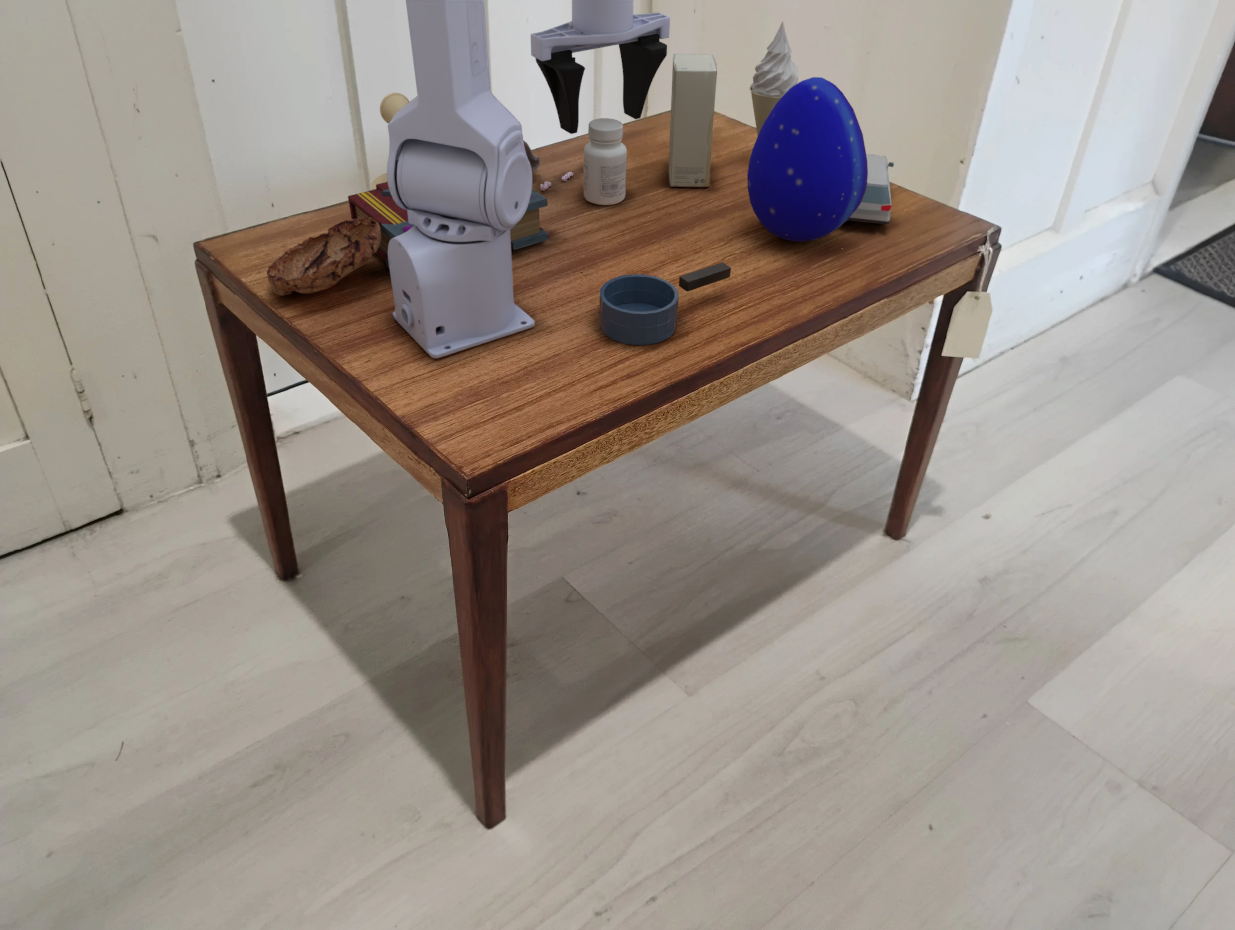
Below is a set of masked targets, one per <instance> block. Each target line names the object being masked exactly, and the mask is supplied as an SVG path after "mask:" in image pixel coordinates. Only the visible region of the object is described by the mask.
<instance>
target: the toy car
mask: <svg viewBox="0 0 1235 930" xmlns="http://www.w3.org/2000/svg"><path fill="white" fill-rule="evenodd" d="M866 156H867V166H868V179H867V187H866V191H865V194H864V196H863V199H862V201H861V204H860V205H859V206H858V208H857V209H856V211H855V212H854V213H853V214H852V215H851V216H850V217H849V219H848V220H847V221H852V222H862V223H871V224H879V225H889V224H890V222H891V213H892V207H893V205H892V195H891V185H890V177H889V176H890V175H889V167H890V168H894V165H895V163H894V162H892V161H888V157H887V156H886V155H880V154H874V153H867V152H866Z"/></svg>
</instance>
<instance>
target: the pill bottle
mask: <svg viewBox="0 0 1235 930" xmlns="http://www.w3.org/2000/svg"><path fill="white" fill-rule="evenodd" d="M587 136H588V140H589V142H587V143H586V144H585V146H584V148H583V167H584V168H583V169H584V170H583V198H584V199H585V200H586V201H587V202H589V203H591V204H594V205H598V206H614V205H617V204H619V203H621V202H623V201H624V200H625V198H626V195H627V192H626V190H627V167H628V166H627V162H628V150H627V147H626V145H625V144H624V143H623V142H622V141H623V138H624V124H623V122H622V121H620V120H618V119H615V118H610V117H609V118H608V117H601V118H596V119H592V120H591V121H589V123H588V130H587Z"/></svg>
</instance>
